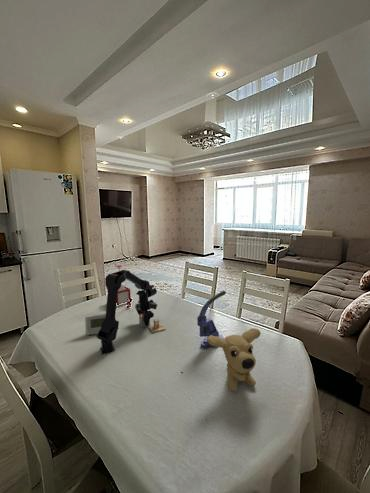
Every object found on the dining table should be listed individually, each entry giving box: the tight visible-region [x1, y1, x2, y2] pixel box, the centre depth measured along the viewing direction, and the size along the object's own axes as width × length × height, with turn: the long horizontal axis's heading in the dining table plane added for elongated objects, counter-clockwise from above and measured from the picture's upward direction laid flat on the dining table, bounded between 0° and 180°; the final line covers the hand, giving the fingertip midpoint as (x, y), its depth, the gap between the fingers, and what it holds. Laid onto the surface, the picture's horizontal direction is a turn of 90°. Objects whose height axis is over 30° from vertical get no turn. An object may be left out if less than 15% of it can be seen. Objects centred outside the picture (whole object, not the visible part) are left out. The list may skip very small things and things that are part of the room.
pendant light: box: [115, 264, 132, 305], centre depth 185 cm, size 11×11×30 cm
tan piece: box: [147, 318, 166, 334], centre depth 144 cm, size 8×8×6 cm
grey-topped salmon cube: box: [138, 314, 151, 329], centre depth 149 cm, size 5×5×7 cm
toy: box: [206, 327, 261, 392], centre depth 98 cm, size 25×20×20 cm
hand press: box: [196, 290, 227, 350], centre depth 127 cm, size 19×9×28 cm, turn 127°
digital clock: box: [84, 312, 106, 336], centre depth 142 cm, size 16×9×11 cm, turn 97°
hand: (144, 323), depth 149 cm, fingers open, 9 cm apart
